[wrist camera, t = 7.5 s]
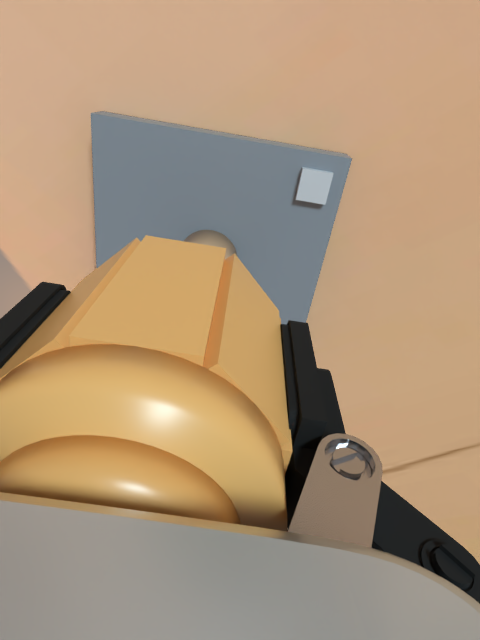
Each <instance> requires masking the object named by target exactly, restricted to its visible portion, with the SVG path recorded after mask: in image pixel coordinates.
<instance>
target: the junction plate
mask: <svg viewBox="0 0 480 640" xmlns="http://www.w3.org/2000/svg"><path fill="white" fill-rule="evenodd" d="M91 130H92V157H93V184H94V210H95V237H96V264H97V268H98V267H99V266H101V265H102V264H103V263H104V262H106V261H107V260H108V259H110V258H111V257H112V256H113V255H115V254H116V253H117V252H119V251H120V250H121V249H122V248H124V247H125V246H126V245H128V244H129V243H130V242H131V241H133V240H134V239H135V238H138V239H139V240H140V242H141V241H142V240H143V238H144V237H145V236H146V235H148V236H154V237H160V238H166V239H172V240H178V241H185V242H191V243H197V244H203V245H209V246H215V247H222V248H226V254H225V259H227V258H228V257H230V256H231V255H233V254H234V253H235V254H236V256H237V257H238V258H239V259H240V261H241V262H242V263H243V265H244V266H245V267H246V269H247V270H248V271H249V272H250V274H251V275H252V276H253V278H254V279H255V280H256V281H257V283H258V284H259V285H260V287H261V288H262V289H263V291H264V292H265V293H266V294H267V296H268V297H269V298H270V300H271V301H272V302H273V304H274V305H275V306H276V307H277V309H278V310H279V316H280V318H281V324H286V325H287V323H288V321H289V320H291V321H298V322H304V323H306V320H307V316H308V313H309V309H310V306H311V302H312V299H313V295H314V292H315V288H316V284H317V281H318V277H319V274H320V270H321V267H322V263H323V260H324V256H325V253H326V249H327V245H328V242H329V238H330V235H331V231H332V228H333V224H334V221H335V217H336V213H337V210H338V206H339V203H340V199H341V196H342V192H343V189H344V185H345V182H346V178H347V174H348V171H349V167H350V164H351V160H352V158H351V157H349V156H348V155H347V154H344V153H338V152H332V151H327V150H321V149H315V148H309V147H304V146H298V145H292V144H287V143H281V142H275V141H269V140H264V139H258V138H252V137H247V136H241V135H235V134H229V133H224V132H218V131H212V130H207V129H201V128H195V127H189V126H184V125H178V124H172V123H167V122H161V121H155V120H149V119H144V118H138V117H132V116H127V115H121V114H115V113H109V112H104V111H100V112H94V113H91Z"/></svg>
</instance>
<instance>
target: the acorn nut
mask: <svg viewBox="0 0 480 640" xmlns="http://www.w3.org/2000/svg"><path fill="white" fill-rule="evenodd" d="M225 254H226V248H222V247H215V246H209V245H203V244H197V243H191V242H185V241H178V240H172V239H166V238H160V237H154V236H148V235H146V236H145V237H144V238H143V240H142V241H141V242H140V240H139V239H138V238H135V239H134V240H133V241H131V242H130V243H129V244H128V245H126V246H125V247H124V248H122V249H121V250H120V251H119V252H117V253H116V254H115V255H113V256H112V257H111V258H110V259H108V260H107V261H106V262H104V263H103V264H102V265H101V266H99V267H98V268H97V269H95V270H94V271H93V272H92V273H90V274H89V275H88V276H86V277H85V278H84V279H83V280H82V281H81V282H80V283H79V284H78V285H77V286H76V287H75V288H74V289H73V290H72V292H71V293H70V294H69V295H68V296H67V297H66V298H65V299H64V300H63V301H62V302H61V304H60V305H59V306H58V307H57V308H56V309H55V310H54V311H53V312H52V313H51V314H50V316H49V317H48V318H47V319H46V320H45V321H44V322H43V323H42V324H41V325H40V326H39V328H38V329H37V330H36V331H35V332H34V333H33V334H32V335H31V336H30V337H29V338H28V340H27V341H26V342H25V343H24V344H23V345H22V346H21V347H20V348H19V349H18V350H17V352H16V353H15V354H14V355H13V356H12V357H11V358H10V359H9V360H8V361H7V362H6V364H5V365H4V366H3V367H2V368H1V369H0V492H3V493H11V494H18V495H26V496H33V497H41V498H49V499H56V500H64V501H71V502H79V503H86V504H94V505H101V506H108V507H116V508H123V509H131V510H138V511H146V512H153V513H160V514H167V515H175V516H182V517H189V518H196V519H203V520H210V521H218V522H225V523H232V524H239V525H246V526H254V527H260V528H267V529H273V530H280V531H286V532H287V507H286V491H285V473H286V470H287V467H288V464H289V461H290V458H291V454H292V440H291V430H290V429H289V423H288V411H287V399H286V387H285V376H284V364H283V352H282V340H281V328H280V325H281V318H280V316H279V310H278V309H277V307H276V306H275V305H274V304H273V302H272V301H271V300H270V298H269V297H268V296H267V294H266V293H265V292H264V291H263V289H262V288H261V287H260V285H259V284H258V283H257V281H256V280H255V279H254V278H253V276H252V275H251V274H250V272H249V271H248V270H247V269H246V267H245V266H244V265H243V263H242V262H241V261H240V259H239V258H238V257H237V256H236V254H235V253H234V254H233V255H231V256H230V257H228V258H227V259H225Z"/></svg>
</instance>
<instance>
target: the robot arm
mask: <svg viewBox="0 0 480 640" xmlns="http://www.w3.org/2000/svg"><path fill="white" fill-rule="evenodd" d="M70 293H71V292H70V291H66V288H65V286H64V285H60V284H54V283H47V282H42V283H40V284H39V285H38V286H37V287H36V288H34V289H33V290H32V291H31V292H30V293H29V294H28V295H27V296H26V297H24V298H23V299H22V300H21V301H20V302H19V303H18V304H17V305H16V306H15V307H13V308H12V309H11V310H10V311H9V312H8V313H7V314H6V315H4V316H3V317H2V318H1V319H0V369H1V368H2V367H3V366H4V365H5V364H6V362H7V361H8V360H9V359H10V358H11V357H12V356H13V355H14V354H15V353H16V352H17V350H18V349H19V348H20V347H21V346H22V345H23V344H24V343H25V342H26V341H27V340H28V338H29V337H30V336H31V335H32V334H33V333H34V332H35V331H36V330H37V329H38V328H39V326H40V325H41V324H42V323H43V322H44V321H45V320H46V319H47V318H48V317H49V316H50V314H51V313H52V312H53V311H54V310H55V309H56V308H57V307H58V306H59V305H60V304H61V302H62V301H63V300H64V299H65V298H66V297H67V296H68V295H69V294H70ZM280 328H281V340H282V352H283V364H284V376H285V387H286V399H287V411H288V423H289V429H290V430H291V440H292V454H291V458H290V461H289V464H288V467H287V470H286V473H285V491H286V507H287V528H288V529H287V532H286V531H280V530H273V529H267V528H260V527H254V526H246V525H239V524H232V523H225V522H218V521H210V520H203V519H196V518H189V517H182V516H175V515H167V514H160V513H153V512H146V511H138V510H131V509H123V508H116V507H108V506H101V505H94V504H86V503H79V502H71V501H64V500H56V499H49V498H41V497H33V496H26V495H18V494H11V493H3V492H0V640H480V565H479V563H478V562H477V561H476V559H475V558H474V557H473V556H472V555H471V554H470V553H469V552H468V551H467V550H466V549H465V548H464V547H463V546H461V545H460V544H459V543H458V542H457V541H455V540H454V539H453V538H452V537H450V536H449V535H448V534H447V533H445V532H444V531H443V530H442V529H440V528H439V527H438V526H437V525H435V524H434V523H433V522H432V521H430V520H429V519H428V518H427V517H426V516H424V515H423V514H422V513H421V512H419V511H418V510H417V509H416V508H414V507H413V506H412V505H411V504H409V503H408V502H407V501H406V500H404V499H403V498H402V497H401V496H399V495H398V494H397V493H396V492H395V491H393V490H392V489H391V488H390V487H388V486H387V485H386V484H385V483H383V482H382V481H381V479H382V473H383V472H382V463H381V461H380V459H379V456H378V455H377V454H376V452H375V451H374V450H373V449H372V448H371V447H370V446H369V445H368V444H366V443H365V442H364V441H362V440H360V439H358V438H356V437H354V436H351V435H347V434H346V433H345V429H344V425H343V421H342V417H341V413H340V409H339V405H338V401H337V397H336V393H335V388H334V384H333V380H332V376H331V373H330V371H329V370H326V369H319V368H317V366H316V361H315V356H314V351H313V346H312V341H311V336H310V331H309V326H308V323H304V322H298V321H291V320H289V321H288V323H287V325H286V324H281V325H280Z"/></svg>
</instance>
